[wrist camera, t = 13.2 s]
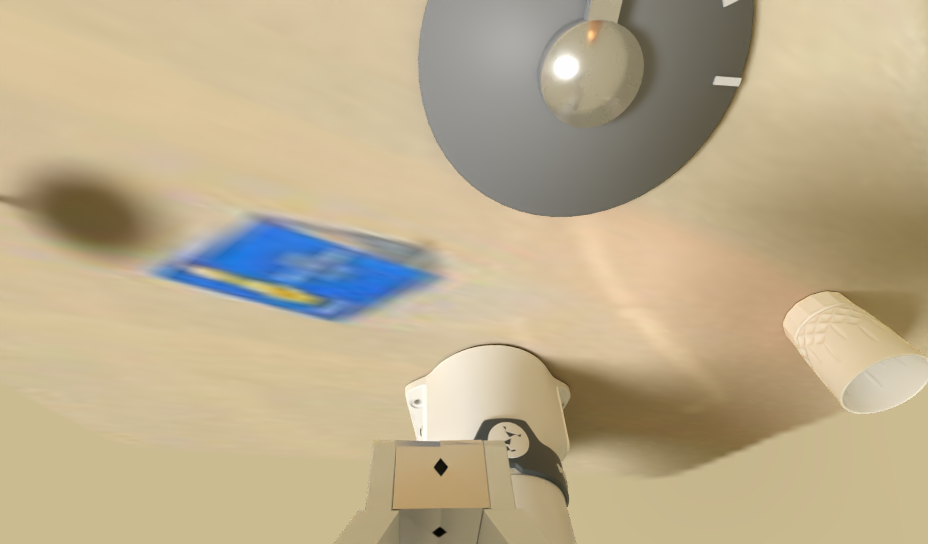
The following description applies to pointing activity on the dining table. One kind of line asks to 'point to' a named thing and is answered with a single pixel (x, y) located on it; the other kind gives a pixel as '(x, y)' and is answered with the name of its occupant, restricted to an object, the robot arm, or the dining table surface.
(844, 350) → the white cup
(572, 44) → the dial
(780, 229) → the dining table surface
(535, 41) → the dial plate
